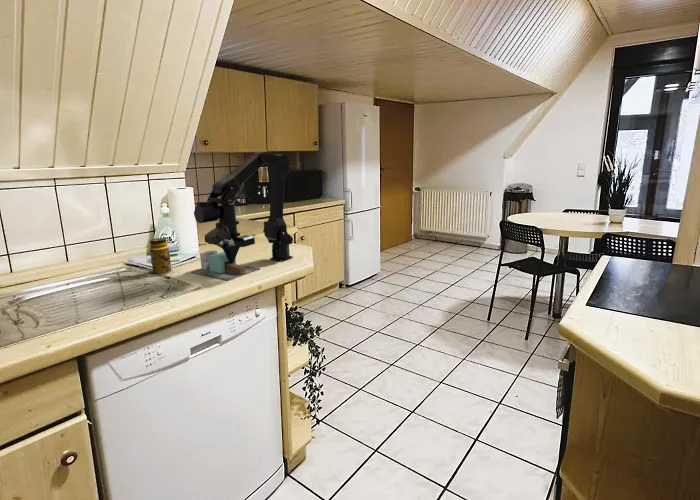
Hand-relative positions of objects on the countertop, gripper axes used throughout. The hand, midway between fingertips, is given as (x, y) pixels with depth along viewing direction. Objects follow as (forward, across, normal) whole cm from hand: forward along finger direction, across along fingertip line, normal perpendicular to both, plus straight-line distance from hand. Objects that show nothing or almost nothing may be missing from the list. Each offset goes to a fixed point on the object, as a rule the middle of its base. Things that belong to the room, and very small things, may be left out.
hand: (231, 263), depth 140 cm
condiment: (+4, -24, -12) cm, 27 cm away
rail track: (+3, -4, 0) cm, 5 cm away
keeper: (+3, -5, 0) cm, 6 cm away
